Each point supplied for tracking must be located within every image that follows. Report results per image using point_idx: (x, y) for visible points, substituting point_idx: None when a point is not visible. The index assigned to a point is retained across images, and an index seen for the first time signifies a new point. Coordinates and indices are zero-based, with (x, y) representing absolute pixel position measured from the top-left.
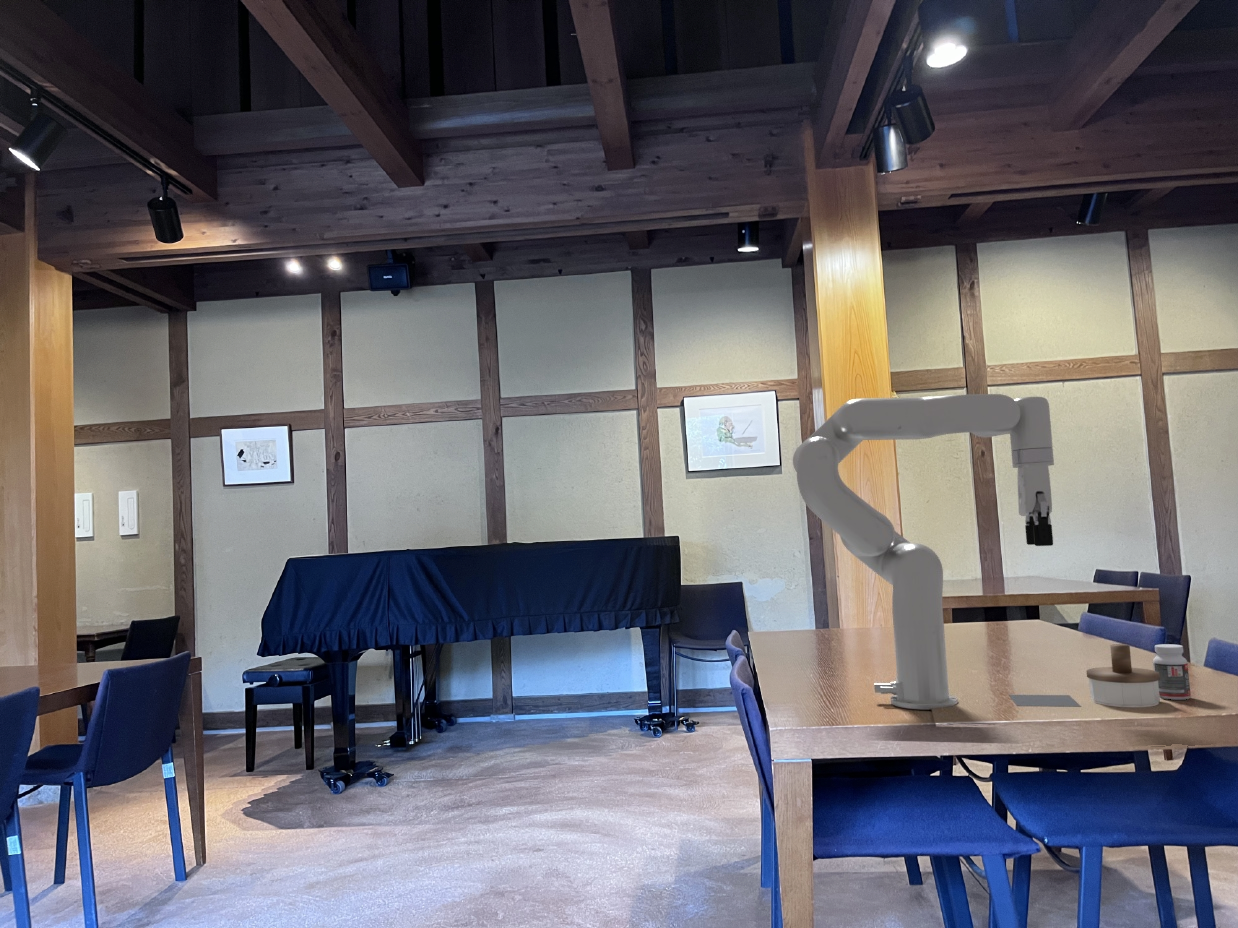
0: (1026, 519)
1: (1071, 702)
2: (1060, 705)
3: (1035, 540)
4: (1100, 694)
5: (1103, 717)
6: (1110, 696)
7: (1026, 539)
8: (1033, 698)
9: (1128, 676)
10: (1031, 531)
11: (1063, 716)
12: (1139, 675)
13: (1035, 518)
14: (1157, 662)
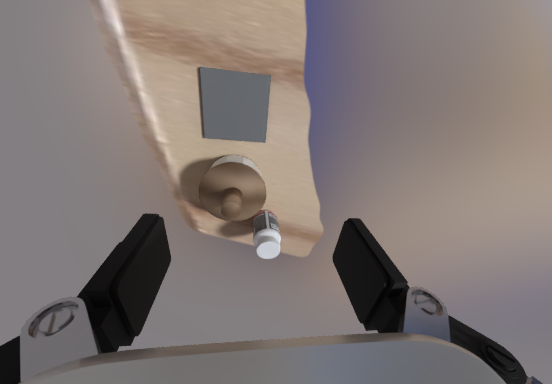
0: (412, 320)
1: (225, 134)
2: (207, 118)
3: (135, 227)
4: (218, 162)
5: (169, 146)
6: (210, 168)
7: (363, 228)
8: (246, 99)
9: (204, 193)
10: (364, 270)
11: (166, 109)
12: (211, 203)
13: (21, 353)
14: (262, 230)
